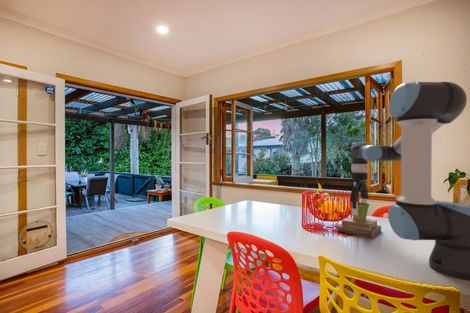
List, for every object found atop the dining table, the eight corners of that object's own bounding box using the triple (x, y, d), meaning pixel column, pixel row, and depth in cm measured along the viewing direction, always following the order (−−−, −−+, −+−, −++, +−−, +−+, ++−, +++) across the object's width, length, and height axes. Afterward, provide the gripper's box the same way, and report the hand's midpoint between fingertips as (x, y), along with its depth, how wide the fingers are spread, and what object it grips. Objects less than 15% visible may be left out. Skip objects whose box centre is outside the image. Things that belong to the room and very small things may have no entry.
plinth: (371, 238, 121) (371, 226, 121) (337, 231, 132) (337, 220, 132) (381, 231, 133) (381, 220, 133) (349, 225, 144) (349, 215, 144)
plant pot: (370, 219, 134) (370, 203, 134) (369, 223, 126) (369, 206, 126) (350, 217, 139) (350, 201, 139) (348, 221, 131) (348, 204, 131)
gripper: (358, 173, 121) (358, 218, 121) (374, 171, 139) (374, 210, 139) (342, 172, 126) (342, 215, 126) (360, 170, 144) (360, 208, 144)
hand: (359, 212), depth 132 cm, fingers open, 13 cm apart
